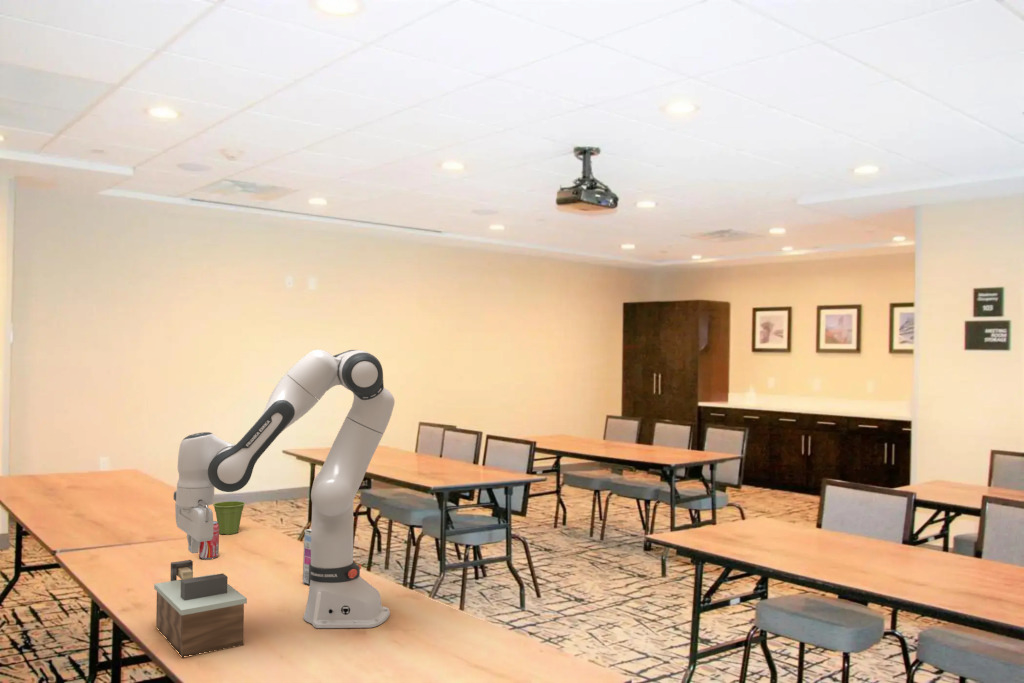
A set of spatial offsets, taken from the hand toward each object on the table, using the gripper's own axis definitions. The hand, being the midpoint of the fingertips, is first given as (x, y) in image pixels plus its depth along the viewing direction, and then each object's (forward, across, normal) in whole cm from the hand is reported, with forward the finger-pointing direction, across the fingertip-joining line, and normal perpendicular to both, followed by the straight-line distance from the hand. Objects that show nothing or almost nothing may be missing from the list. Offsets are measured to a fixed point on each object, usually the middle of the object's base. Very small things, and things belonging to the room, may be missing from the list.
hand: (193, 552), depth 196 cm
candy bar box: (+20, +20, -44) cm, 53 cm away
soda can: (+20, +69, -25) cm, 76 cm away
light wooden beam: (+8, +9, 0) cm, 13 cm away
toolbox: (+20, -2, -1) cm, 20 cm away
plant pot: (+20, +101, -42) cm, 111 cm away
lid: (+10, -5, 0) cm, 11 cm away
